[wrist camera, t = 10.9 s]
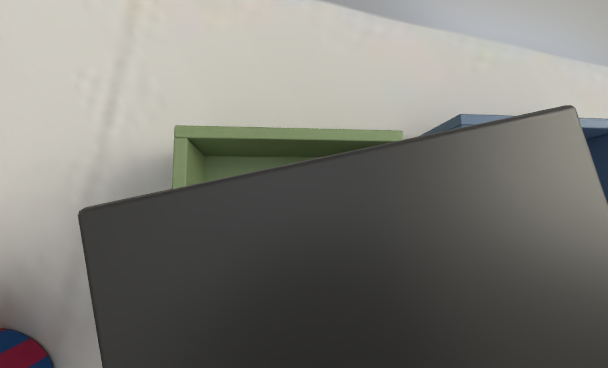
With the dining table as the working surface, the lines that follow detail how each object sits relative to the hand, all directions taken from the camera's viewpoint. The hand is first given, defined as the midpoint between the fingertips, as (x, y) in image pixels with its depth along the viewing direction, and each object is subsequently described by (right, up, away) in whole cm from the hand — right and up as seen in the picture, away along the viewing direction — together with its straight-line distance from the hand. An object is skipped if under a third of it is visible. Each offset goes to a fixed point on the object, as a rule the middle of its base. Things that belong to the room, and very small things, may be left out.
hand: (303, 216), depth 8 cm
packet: (0, -2, +6) cm, 6 cm away
